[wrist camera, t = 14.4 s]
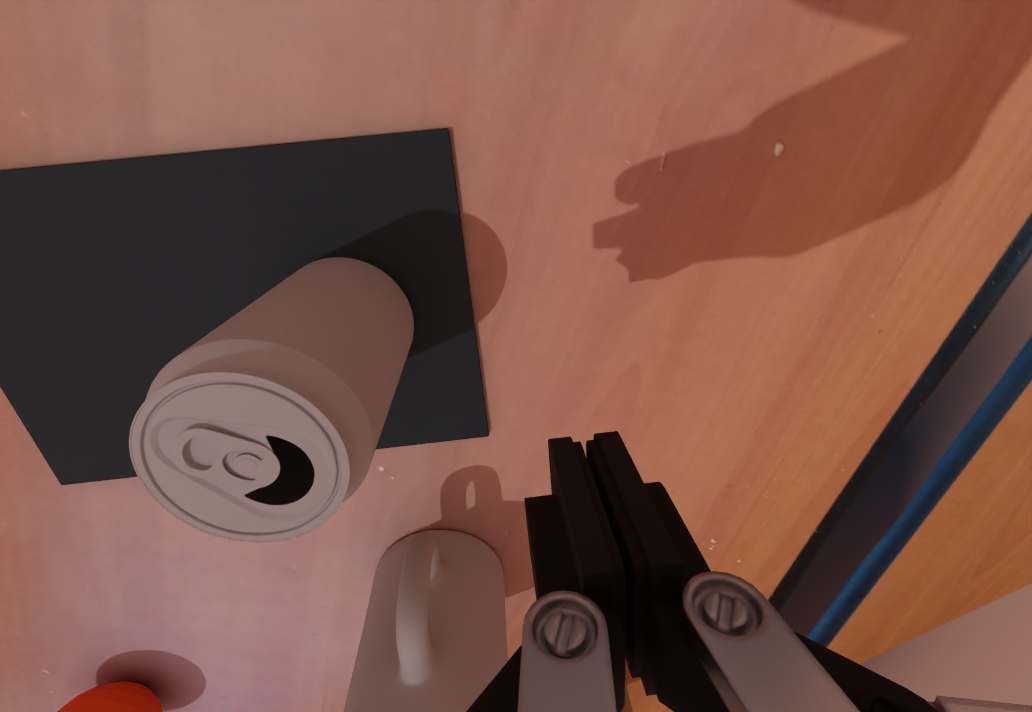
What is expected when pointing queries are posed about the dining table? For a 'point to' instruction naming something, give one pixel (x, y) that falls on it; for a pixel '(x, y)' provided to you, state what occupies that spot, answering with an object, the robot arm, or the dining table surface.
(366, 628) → the mug
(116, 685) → the clementine
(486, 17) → the dining table surface
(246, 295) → the mat
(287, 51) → the dining table surface
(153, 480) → the beverage can
